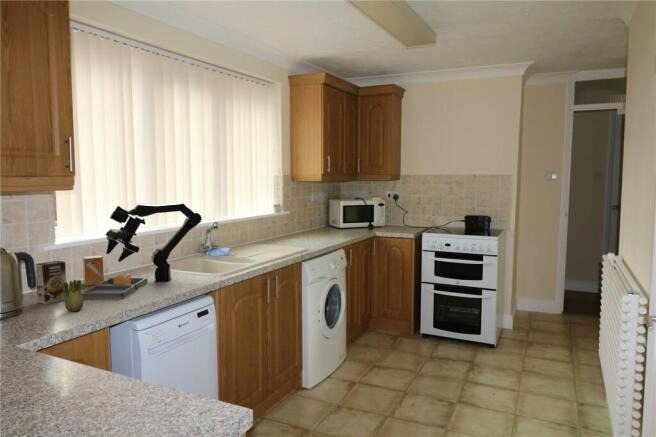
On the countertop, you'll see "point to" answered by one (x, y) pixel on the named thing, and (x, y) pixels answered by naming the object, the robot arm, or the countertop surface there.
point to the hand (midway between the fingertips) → (113, 257)
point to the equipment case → (138, 281)
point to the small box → (93, 270)
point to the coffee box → (50, 281)
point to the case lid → (108, 292)
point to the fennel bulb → (73, 296)
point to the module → (122, 278)
